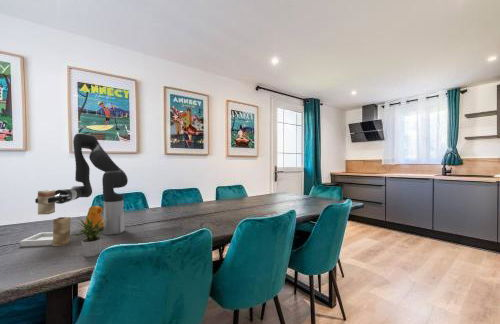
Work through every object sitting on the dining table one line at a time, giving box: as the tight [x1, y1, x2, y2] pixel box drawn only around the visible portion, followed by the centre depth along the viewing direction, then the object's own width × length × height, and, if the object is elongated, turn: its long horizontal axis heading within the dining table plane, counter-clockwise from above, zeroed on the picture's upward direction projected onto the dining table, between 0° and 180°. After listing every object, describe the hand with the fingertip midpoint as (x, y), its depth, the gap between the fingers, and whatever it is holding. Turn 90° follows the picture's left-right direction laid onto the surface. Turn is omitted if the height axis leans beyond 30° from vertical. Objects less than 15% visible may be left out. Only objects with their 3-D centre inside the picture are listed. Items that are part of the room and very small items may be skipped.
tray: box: [19, 231, 53, 248], centre depth 111 cm, size 13×13×2 cm
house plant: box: [70, 216, 109, 258], centre depth 95 cm, size 14×14×16 cm
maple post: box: [37, 189, 56, 216], centre depth 111 cm, size 5×5×11 cm
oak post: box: [52, 216, 71, 247], centre depth 107 cm, size 4×4×12 cm
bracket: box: [83, 205, 104, 229], centre depth 137 cm, size 11×7×12 cm, turn 171°
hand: (42, 200), depth 109 cm, fingers closed on maple post, 4 cm apart
